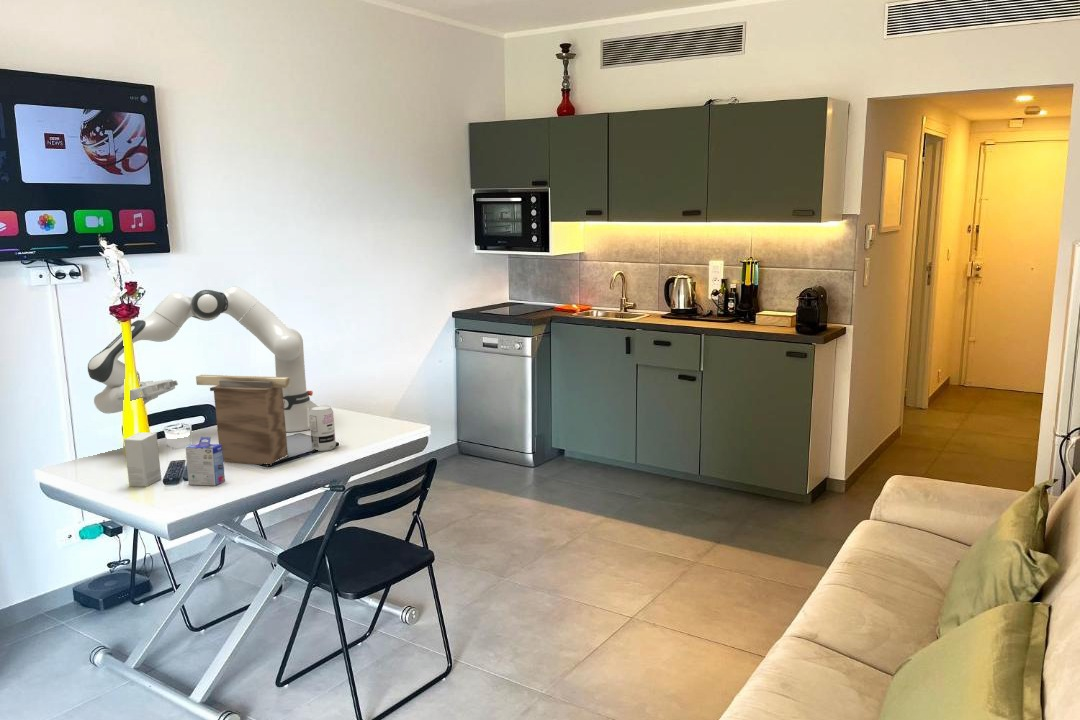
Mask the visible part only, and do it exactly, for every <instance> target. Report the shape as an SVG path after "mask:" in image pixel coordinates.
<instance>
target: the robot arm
mask: <svg viewBox="0 0 1080 720" xmlns="http://www.w3.org/2000/svg"><path fill="white" fill-rule="evenodd" d="M221 314H225V315H226V314H227V315H229V316H230V317H232V318H233V319H235V321H237V322H238V323H239V325H242V326H243V328H244V329H246V330H247V331H249V332H250V333H251V334H252V335H253V336H255V338H257V339H258V341H260V343H261V344H263V345H264V346H265V347H266V348H267V349H268V350H269V351H270V352H271V353H273V354H274V362H275V363H274V365H275V366H274V367H275V377H289V378H290V386H289V387H286V388H282V391H283V403H284V415H285V427H286V433H288V432H290V433H291V432H301V431H306V430H307V431H308V430H311V428H310V415H309V413H310V410H311V408H312V407H316V406H318V405H317V404H316V403H314V402H313V401H312V400H311V398H310V397H311V396H313V395H314V392H313V390H307V384H306V383H307V382H306V381H307V380H306V369H305V365H306V364H305V353H304V352H305V351H304V340H303V337H302V335H301V333H300V332H299V331H298V330H296V329H294V328H290V327H288V326H287V325H286V324H285V323H284V322H283V321H282V320H281V319H280V318H279V317H278V316H276V314H275V313H274V312H273V311H271V310H270V309H269V308H268V307H266V306H265V305H264V304H263V303H262V302H261V301H260V300H258V299H257V298H256V297H255V296H254V295H252V294H250V293H249V292H247V291H246V290H244V289H242V288H240V287H238V286H232V287H229V288H227V289H225V291H224V292H221V291H215V290H214V289H213V290H212V289H203V290H200V291H198V292H196V293H195V294H194V295H193V296H187V295H185V294H184V293H182V292H177V291H176V292H170V293H169V294H168V295H167V296H166V297H165V298H163V300H161V301H160V302H159V304H157V306H156V307H155V308H154V309H153V311H152V312H151V313H150V314H149V315H148V316H147V317H145V318H143V319H138V320H135V321H133V322H132V323H130V325H131V332H132V342H133V344H135V343H136V342H139V341H150V342H159V343H162V342H167V341H170V340H171V339H173V338H174V337H175V336H176V335H177V333H178V332H179V330H180V329H181V328H182V327H183V325H184V324H185V322H187V320H189V319H190V318H194V319H196V320H197V319H198V320H201V321H209V322H210V321H213V320H215V319H217V318H219V316H220V315H221ZM124 353H125V352H124V346H123V338H122V332H120V333H119V335H117V336H116V337H115V339H113V340H112V341H111V342H110V343H109V344H108V345H107V346H106V347H104V349H103V350H100V351H99V352H98V353H97V354H95V355H94V356H93V357H91V359H90V360H89V361H88V363H87V373H88V376H89V378H90V379H92V380H93V381H97V382H98V383H101V384H104V385H105V388H104V389H103V390H102V391H101V392H99V393H97V394H96V395H95V396H94V397H93V403H94V405H95V408H96V409H97V410H98V411H99V412H101V413H103V414H108V415H109V414H116V413H119V412H123V400H124V379H125V363H124V362H122V361H121V360H120V359H119V358H120V357H121V356H122V355H123V354H124ZM137 375H138V379H139V384H140V387H139V388H140V389H139V388H135V389H132V390H130V401H132V400H136V399H139V398H143V401H144V405H146V404H147V403H149V402H150V401H152V400H155V399H157V398H158V397H159V396H161V395H163V394H166V393H169V392H170V391H173V390H174V389H176V386H178V385H179V383H178V381H177V380H174V379H170V378H169V379H164V380H163V379H162V380H156V381H154V380H149V381H147V380H146V381H140V379H141V378H140V373H139V372H138V371H137ZM140 392H141V394H140ZM141 395H142V397H141Z"/></svg>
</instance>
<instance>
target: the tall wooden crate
mask: <svg viewBox="0 0 1080 720" xmlns="http://www.w3.org/2000/svg"><path fill="white" fill-rule="evenodd" d="M219 384H220V386H215V385H214V386H212V387H209V391H210V392H213V398H214V407H215V418H216V429H217V438H218V439H217V440H218V444H222V453H223V463H229V464H230V463H231V464H246V465H248V464H249V465H262V464H263V463H265V464H266V463H267V464H270V465H269V466H273V465H272V463H274V462H275V461H276V460H278V459H280V458H282V457H285V456H286V455H288V456H289V452H288V440H287V432H286V427H285V415H284V403H283V391H282V388H274V387H272V382H259V381H227V380H220V381H219Z"/></svg>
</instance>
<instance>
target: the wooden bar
mask: <svg viewBox="0 0 1080 720" xmlns="http://www.w3.org/2000/svg"><path fill="white" fill-rule="evenodd" d="M195 380H196V381H195V382H196V383H195V384H196V385H197V386H214V387H215V386H220V384H219V381H220V380H227V381H259V382H272V387H274V388H286V387H289V386H290V378H289V377H276V376H260V375H258V376H256V375H229V374H228V375H227V374H225V375H223V374H221V375H220V374H218V375H217V374H200V375H196V376H195Z"/></svg>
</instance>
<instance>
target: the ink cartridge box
mask: <svg viewBox="0 0 1080 720" xmlns="http://www.w3.org/2000/svg"><path fill="white" fill-rule="evenodd" d="M211 438H212V437H209V436H207V437H206V436H201V437H200V438H199V442H198V443H194V444H191V445H188V446H186V447H185V457H186V468H187V469H186V470H187V479H188V480H187V482H188V485H191V486H193V485H197V486H217V485H219V484H221V483H224V482H226V476H225V467H224V462H223V453H222V444H219V443H211ZM203 440H204V441H203ZM205 440H206V441H205Z"/></svg>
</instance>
